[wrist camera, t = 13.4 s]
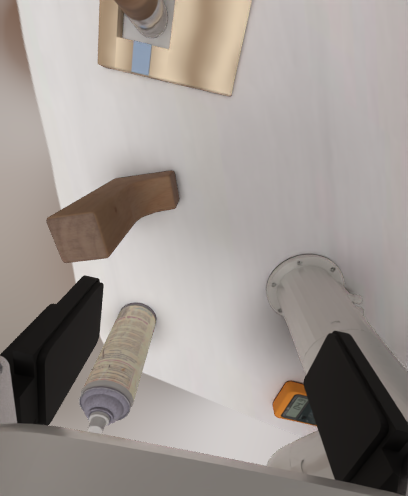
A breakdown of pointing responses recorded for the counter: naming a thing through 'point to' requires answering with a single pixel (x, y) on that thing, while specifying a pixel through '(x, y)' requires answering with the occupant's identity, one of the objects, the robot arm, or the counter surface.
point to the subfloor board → (181, 44)
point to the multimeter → (293, 404)
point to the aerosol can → (118, 368)
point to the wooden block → (110, 214)
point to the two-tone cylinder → (146, 15)
